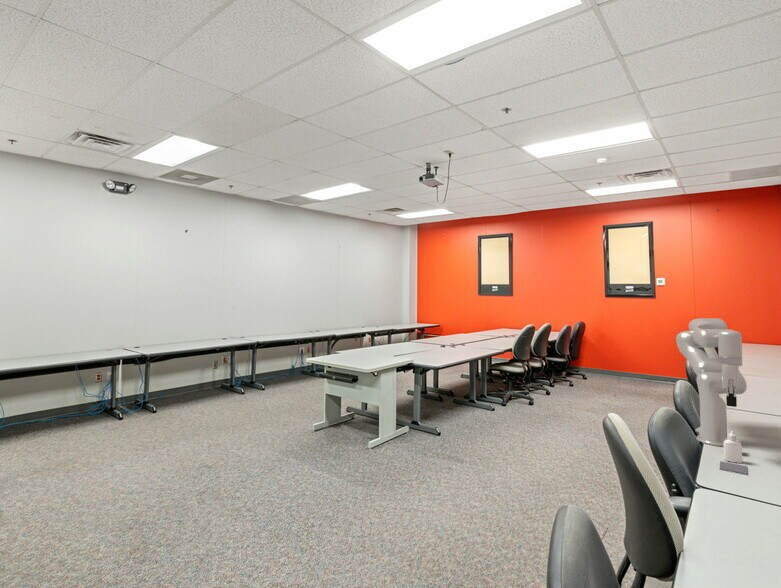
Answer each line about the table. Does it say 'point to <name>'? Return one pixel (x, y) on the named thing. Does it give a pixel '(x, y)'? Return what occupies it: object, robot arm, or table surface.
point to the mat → (733, 467)
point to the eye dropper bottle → (732, 449)
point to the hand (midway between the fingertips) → (731, 405)
